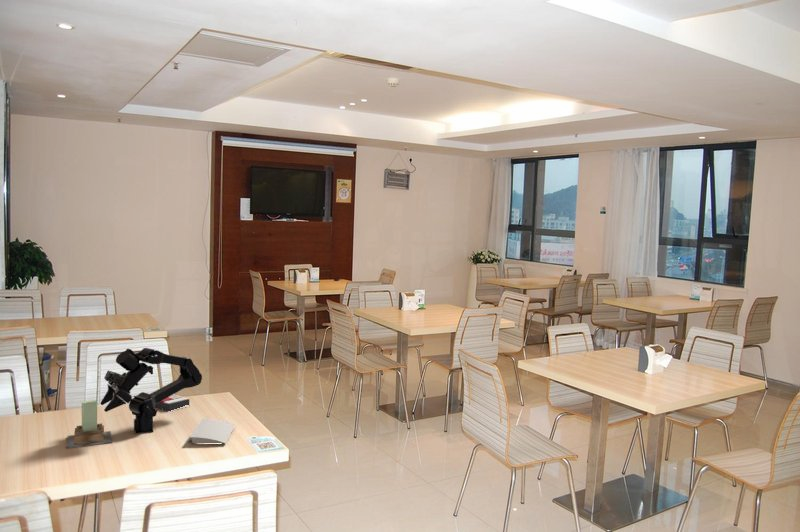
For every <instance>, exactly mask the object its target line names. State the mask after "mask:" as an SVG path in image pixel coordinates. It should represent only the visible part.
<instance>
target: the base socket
mask: <svg viewBox="0 0 800 532" xmlns="http://www.w3.org/2000/svg"><path fill="white" fill-rule="evenodd" d="M112 443H113V442H112V431H111V430H109V431H108V430H107V431H105V425H104V424H103V423H102V422H101V423H97V431H87V432H82V424H81V425H76V427H75V428H74V433H73V435H72V434H71V435H67V438H66V446H65V448H66V449H72V448H80V447H88V446H89V447H90V446H91V447H92V446H97V445H105V444H112Z"/></svg>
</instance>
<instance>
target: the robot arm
mask: <svg viewBox="0 0 800 532" xmlns="http://www.w3.org/2000/svg"><path fill="white" fill-rule="evenodd" d="M115 363H116V364H118V365H119V367H121V368H122V369H124V370H125V371H127V372H123V373H122V374H121V373H119V372H114V371H111V370H107V371H106V373H105V375H104V380H105V381H106V382H107V391H106V393H105V394H104V396H103V397H102V399H101V401H100V402H99V403H100V406H103V405H105V404H107V405H106V407H105V408H104V409H103V411H104V412H106V413H107V412H109V411H111V410H114V409H116V408H118V407H120V406H123V405H127V404H128V409H129V411H130V412H131V414H132V415H133V416H135V418H133V431H134V432H135V434H145V433H146V434H147V433H153V432H154V422H153V421H154V417H156V416H157V413H158V410H157V408H156V407H155V405H156V404H157V403H159V402H160V401H162V400H164V399H166V398H168V397H169V396H171V395H173V394H175V395H176V393H178V392H180V391H183V390H184V389H189V388H194V387H197V386H199V385H200V384H202V381H203V375H202V373H201V372H200V370H199V368H197V366H196V365H195V364H194V361H193V360H192V358H191V357H185V356H179V355H172V354H166V353H164V352H163V351H159V350H157V349H153V348H149V347H144V348H142V349H141V350H140V351H138V352H134V351H133V350H132V349H131V348H126V350H125V351H122V352H120V353H119V354H117V356H116V358H115ZM146 363H147V364H146ZM148 364H149V365H148ZM150 364H151V365H150ZM161 364H167V365H168V364H169V365H175V366H179V376H178V377H177V379H175V380H173V381H171V382H170V383H168V384H166V385H164V386H162V387H160V388H159V389H157V390H155V391H153V392H151V393H147V392H144V391H142V392H140V393H139V394H137V395H133V396H132V395H131V390H132V389H134V387H136V386H138V385H139V382H140V381H141V380H142V379H143V378H144V377H145V376H146V375H147V374H148V373H149V374H150V375H153V374H154V367H153V366H152V365H161ZM108 402H109V403H108Z"/></svg>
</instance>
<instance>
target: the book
mask: <svg viewBox="0 0 800 532" xmlns="http://www.w3.org/2000/svg"><path fill="white" fill-rule="evenodd" d="M234 424H235V423H232V422H228V421H224V420H218V419H211V418H210V419H209V418H201V420H200V421H199V422H198V424H197V425H196V427H195V428H194V429H193V430H192V432H191V434H189V437H188V440H191V442H192V444H193V443H195V444H194V445H198V444H197V443H223V444H224V445H225V444H227V442H228V440H229V438H230V436H231V435H232V433H233V431H232V430H234V429H233V427H234ZM234 428H235V427H234ZM231 432H232V433H231ZM230 434H231V435H230Z"/></svg>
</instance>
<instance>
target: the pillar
mask: <svg viewBox="0 0 800 532" xmlns="http://www.w3.org/2000/svg"><path fill="white" fill-rule="evenodd" d="M97 424H98V403H97V401H96V399H92V400H86V401H85V400H84V401H81V425H82V432H87V431H97Z"/></svg>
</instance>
